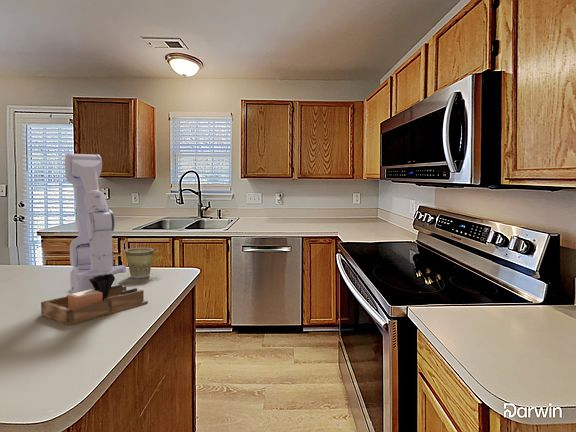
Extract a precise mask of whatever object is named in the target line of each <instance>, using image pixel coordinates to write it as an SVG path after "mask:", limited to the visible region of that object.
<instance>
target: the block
mask: <svg viewBox="0 0 576 432" xmlns="http://www.w3.org/2000/svg"><path fill="white" fill-rule="evenodd" d="M67 296H68V309H74V308H78V307H82V306H86V305H90V304H94V303H98V302H102V301H103V296H102V292H100V291H96V290H92V289H91V290H86V291H82V292H77V293H73V294H67Z"/></svg>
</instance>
